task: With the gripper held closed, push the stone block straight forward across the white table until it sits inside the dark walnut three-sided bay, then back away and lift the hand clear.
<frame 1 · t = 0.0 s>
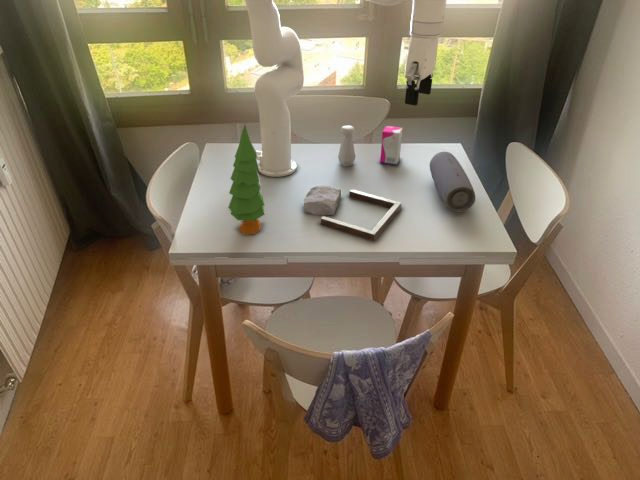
hand: (417, 98, 128), 31 cm above the table, tool pointing down, fingers open, 9 cm apart
decorative tree: (248, 229, 134), on the table
bluetooth speaker: (448, 196, 149), on the table
salt shaker: (346, 164, 167), on the table
stone block: (321, 205, 145), on the table
supplement box: (389, 161, 169), on the table
bay: (361, 216, 139), on the table
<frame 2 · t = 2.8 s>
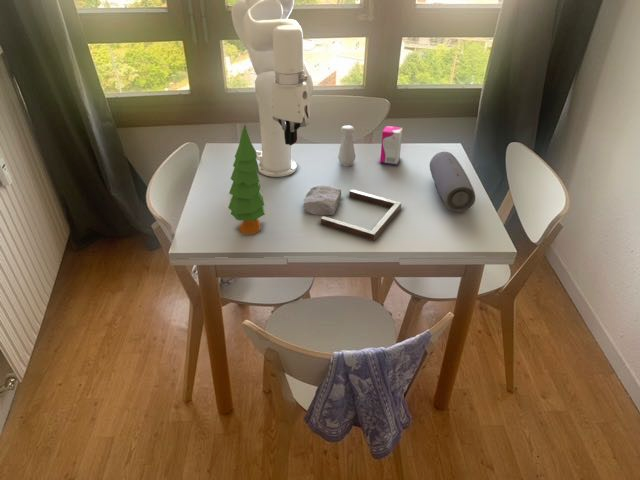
hand: (290, 143, 139), 17 cm above the table, tool pointing down, fingers closed
nothing on the table moved.
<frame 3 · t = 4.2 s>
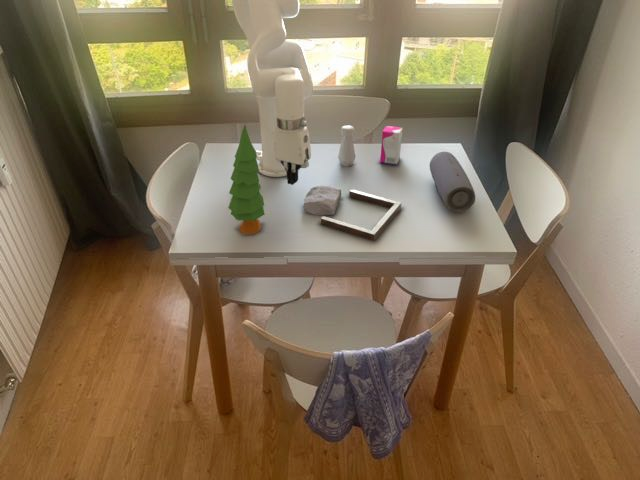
hand: (292, 182, 145), 5 cm above the table, tool pointing down, fingers closed
nothing on the table moved.
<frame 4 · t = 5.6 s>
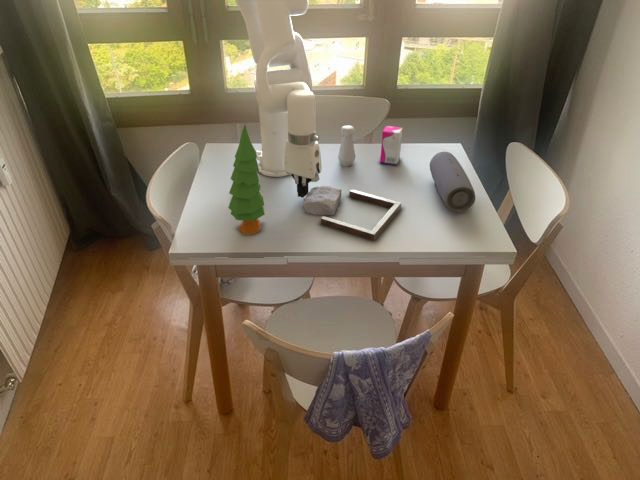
hand: (302, 195, 146), 1 cm above the table, tool pointing down, fingers closed
stone block: (321, 205, 145), on the table, touching gripper
everything else where it was.
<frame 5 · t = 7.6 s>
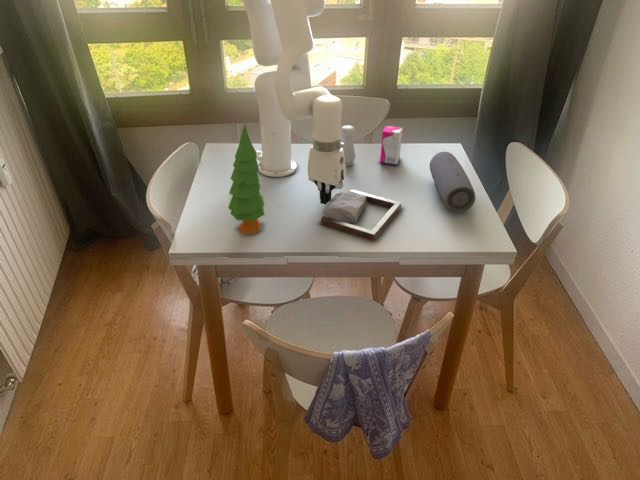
hand: (325, 202, 143), 1 cm above the table, tool pointing down, fingers closed
stone block: (344, 211, 142), on the table, touching gripper
everything else where it was.
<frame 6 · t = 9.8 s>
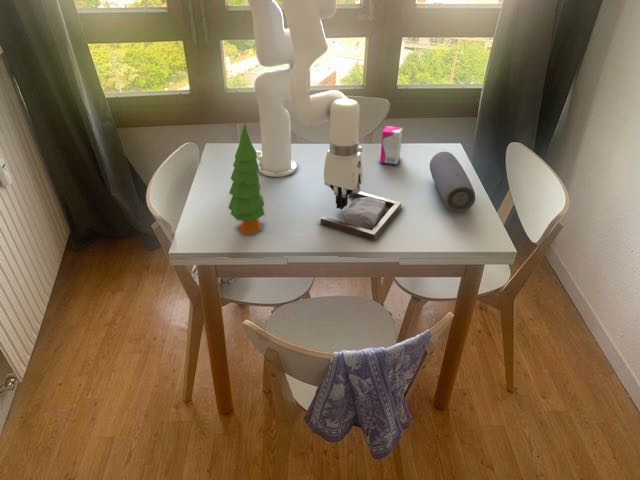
hand: (341, 206, 141), 1 cm above the table, tool pointing down, fingers closed
stone block: (363, 217, 139), on the table
everything else where it was.
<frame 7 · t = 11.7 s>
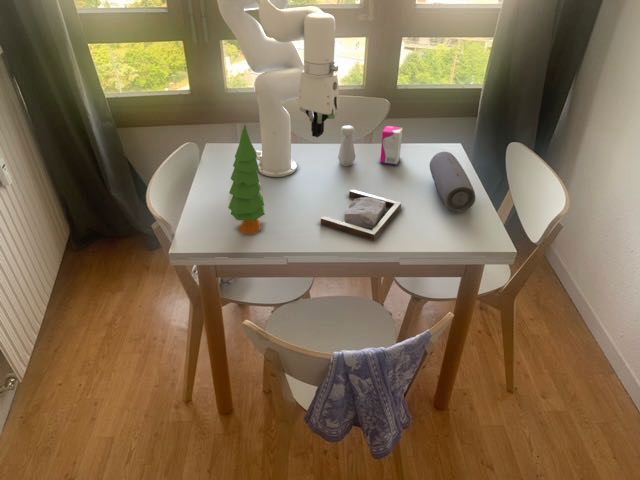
hand: (317, 135, 135), 20 cm above the table, tool pointing down, fingers closed
nothing on the table moved.
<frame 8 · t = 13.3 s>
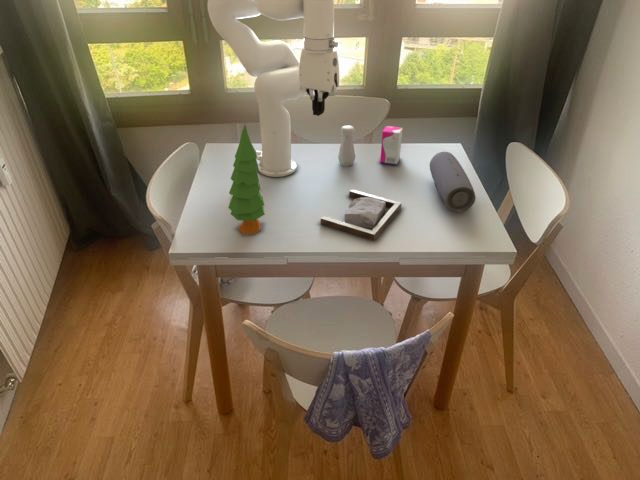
hand: (318, 113, 135), 25 cm above the table, tool pointing down, fingers closed
nothing on the table moved.
at the end: stone block 1.9 cm from the target spot on the bay, point 0.0 cm above the bay's base; stone block moved 13.6 cm from its start; stone block tilted 0° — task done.
